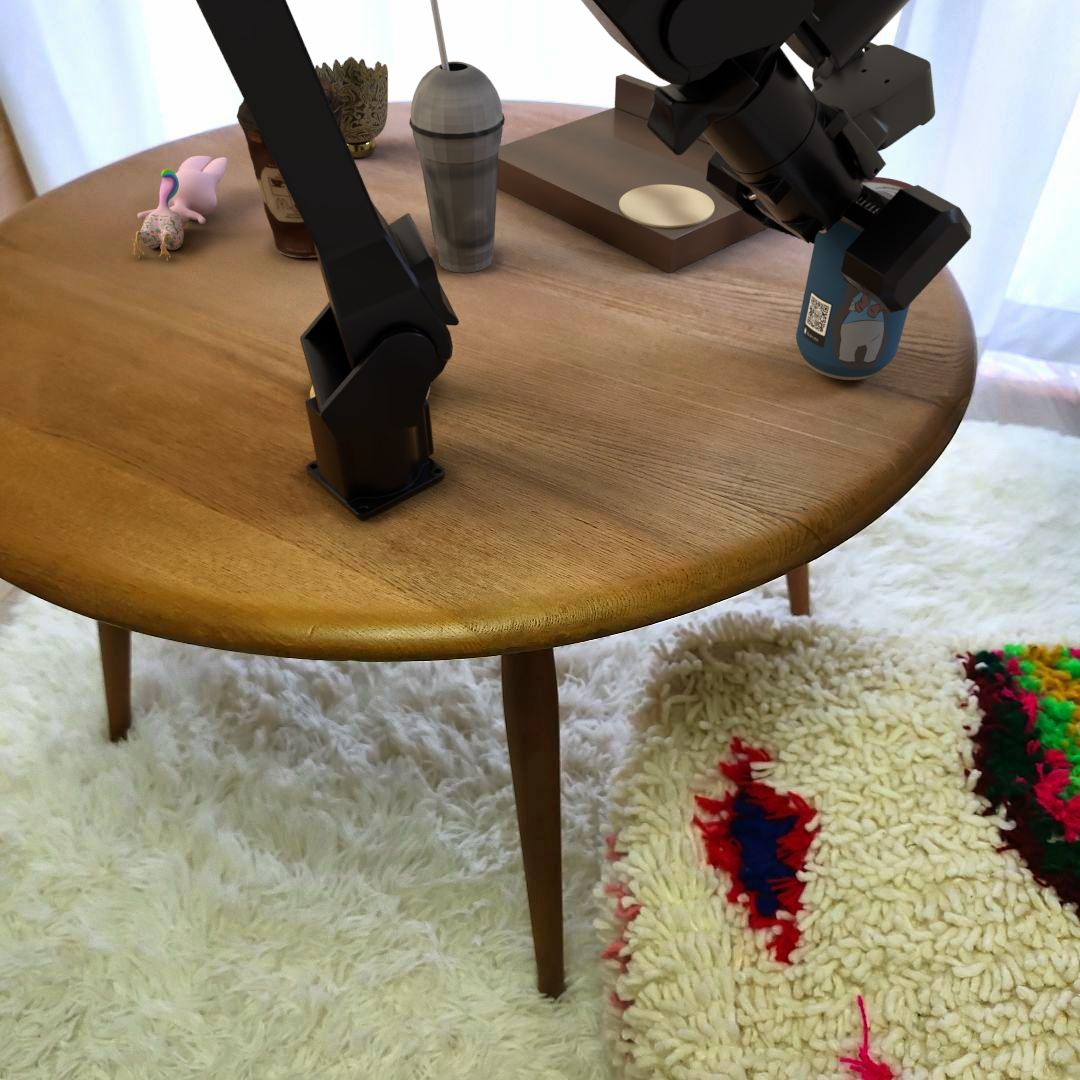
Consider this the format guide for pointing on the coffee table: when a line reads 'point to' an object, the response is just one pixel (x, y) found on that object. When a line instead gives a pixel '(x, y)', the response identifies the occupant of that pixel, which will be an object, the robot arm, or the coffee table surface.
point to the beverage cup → (459, 157)
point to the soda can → (846, 309)
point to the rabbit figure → (180, 203)
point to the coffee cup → (281, 184)
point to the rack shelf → (626, 183)
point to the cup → (360, 101)
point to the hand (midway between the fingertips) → (879, 269)
